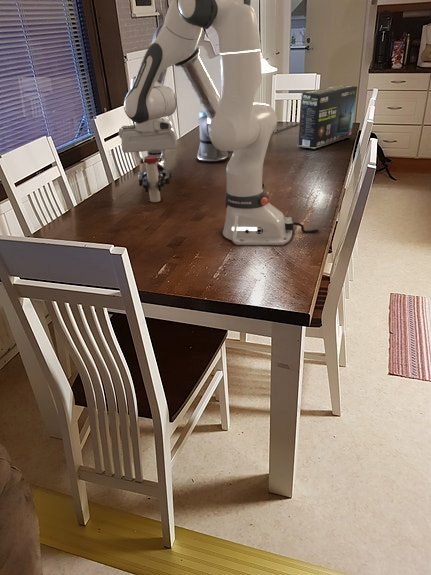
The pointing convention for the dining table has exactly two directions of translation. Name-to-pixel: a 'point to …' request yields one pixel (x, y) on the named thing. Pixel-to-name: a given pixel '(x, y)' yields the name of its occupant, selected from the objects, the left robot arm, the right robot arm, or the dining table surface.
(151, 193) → the white cylinder
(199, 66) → the left robot arm
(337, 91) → the router box
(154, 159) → the lid
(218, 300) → the dining table surface
